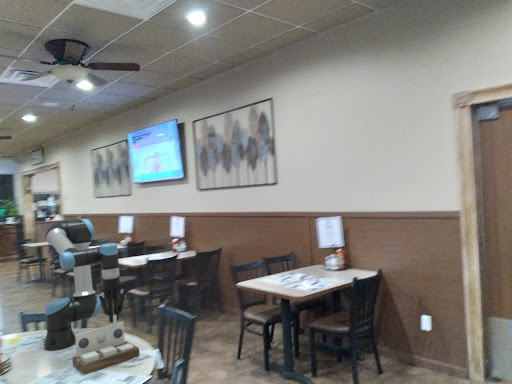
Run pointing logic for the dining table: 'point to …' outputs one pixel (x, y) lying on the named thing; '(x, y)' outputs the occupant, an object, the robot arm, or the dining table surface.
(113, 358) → the button board
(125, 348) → the button
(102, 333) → the pattern card
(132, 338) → the dining table surface
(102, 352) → the middle button
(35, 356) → the dining table surface
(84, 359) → the button
